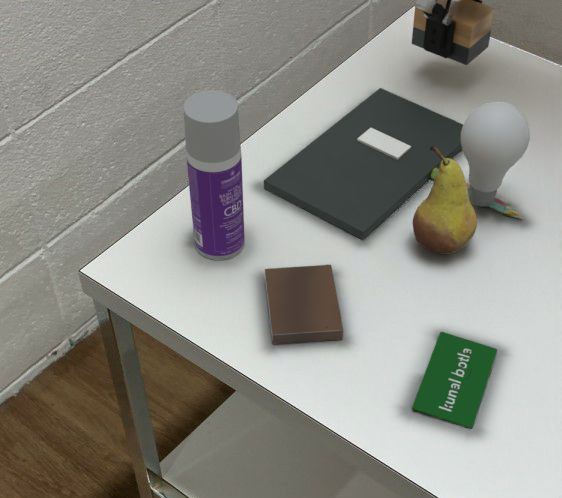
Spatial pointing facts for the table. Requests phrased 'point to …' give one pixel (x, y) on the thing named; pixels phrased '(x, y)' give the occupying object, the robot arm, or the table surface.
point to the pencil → (496, 204)
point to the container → (215, 173)
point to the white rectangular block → (384, 143)
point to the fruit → (445, 211)
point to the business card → (455, 380)
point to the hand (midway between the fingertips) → (450, 40)
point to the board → (366, 163)
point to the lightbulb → (492, 147)
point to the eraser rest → (303, 304)
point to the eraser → (461, 29)
